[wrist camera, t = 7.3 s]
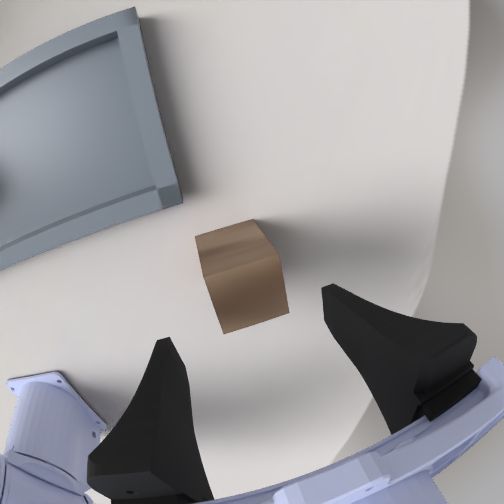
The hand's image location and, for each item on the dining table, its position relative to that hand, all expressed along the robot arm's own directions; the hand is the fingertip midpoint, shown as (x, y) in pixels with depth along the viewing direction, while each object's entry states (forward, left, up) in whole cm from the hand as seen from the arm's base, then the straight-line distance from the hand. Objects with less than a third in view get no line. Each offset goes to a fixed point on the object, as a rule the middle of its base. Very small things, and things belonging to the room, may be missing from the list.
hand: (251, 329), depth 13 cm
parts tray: (+11, +11, -8) cm, 18 cm away
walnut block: (0, -1, -8) cm, 9 cm away
